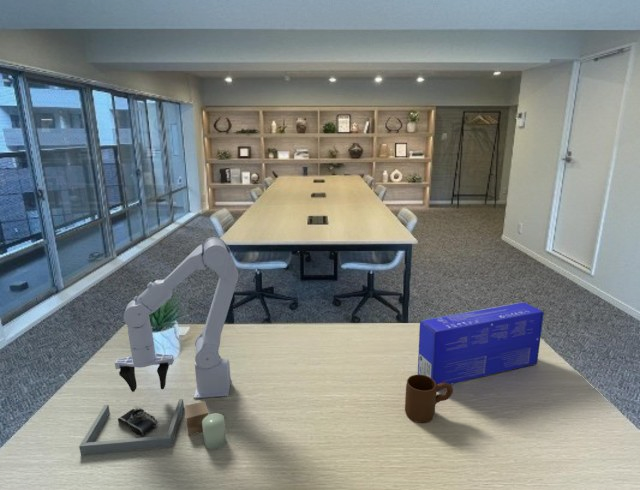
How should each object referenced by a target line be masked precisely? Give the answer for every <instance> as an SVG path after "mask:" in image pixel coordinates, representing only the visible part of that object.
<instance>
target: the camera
mask: <svg viewBox="0 0 640 490" xmlns="http://www.w3.org/2000/svg"><path fill="white" fill-rule="evenodd" d="M117 422H118V424H121V423H122V422H126V423H127V424H128V427H129V429H130V431H131V432H132V433H133V434H135V435H137V436H138V437H139V438H143V436H145V435H146V434H148V433H149V432H151V431H152V430H154V429H155V428H156V427H157V424H158V422H159V421H158V419H156V418H155V416H153V415H152V414H150V413H148V412H146V411H145V410H144V409H142V408H135V409H134V408H132V409H130V410H129V411H127V412H126V413H124V414H123V415H121V416H120V417H118V418H117Z"/></svg>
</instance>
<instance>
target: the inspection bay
mask: <svg viewBox="0 0 640 490" xmlns="http://www.w3.org/2000/svg"><path fill="white" fill-rule="evenodd" d="M184 409H185V404H184V398H179V400H178V401H177V404H176V408H175V411H174V413H173V417H172V418H171V422H170V425H169V427H168V431H167V434H166V435H158V436H157V435H156V436H145V437H135V438H134V437H133V438H125V439H113V440H101V441H95V439H96V438H97V436H98V434H99V432H100V430H101V429H102V427H103V426H104V424H105V422H106V420H107V419H108V417H109V415H110V413H111V412H110V407H109V404H105V405H103V407H102V408H101V410H100V412H99V414H98V415H97V417H95V420H94V421H93V422H92V424H91V427H90V428H89V429H88V431H87V433H86V435H85V436H84V438H83V439H82V441H81V443H80V444H79V446H78V448H79V453H80V456H89V455H100V454H109V453H121V452H132V451H143V450H144V451H145V450H154V449H155V450H156V449H165V448H172V446H173V443H174V440H175V437H176V433H177V431H178V426H179V424H180V420H181V418H182V414H183V413H184V412H183V411H184Z"/></svg>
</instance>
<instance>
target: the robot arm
mask: <svg viewBox="0 0 640 490" xmlns="http://www.w3.org/2000/svg"><path fill="white" fill-rule="evenodd" d="M232 254H233V253H232V251H231V249H230V247H229V245H227V243H226V242H225V241H224V240H223V239H222V238H221V237H220V238H219V237H217V236H214V237H209V238H207V239H206V240H205V241H204V242H203V244H202V243H201V244H200V245H198V246H197V247H196V248H195V249H193V250H192V251H191V253H189V255H187V256H186V257H185V259H183V260H182V261H181V262H180V263H179V264H178V266H176V267H175V268H174V269H173V270H172V271H171V272H169V273H170V274H168V275H167V276H166V277H165V278H164V279H156V280H155V281H154V282H152V281H150V282H149V283H148V284H147V286H146V287H147V288H146V289H144V291H143V292H142V293H140V294H139V295H135V296H134V297H133V299H132V300H131V301H130V302H128V303H127V305H126V308H125V311H124V314H123V322H124V323H125V325H126V327H127V335H128V341H129V346H130V352H131V356H127V357H123V358H117V359H116V361H115V362H114V366H115V370H119V372H118V374H119V376H120V377H121V378H122V379H123V380H124V381H125V382H126V383H127V385H128V387H129V389H130V390H131V393H135V391H136V390H137V388H138V386H137V379H136V373H135V369H136V368H146V367H150V366H154V365H155V366H156V365H158V367H157V370H156V372H157V375H158V378H159V384H160V385H159V386H160V390H165V387H166V384H167V383H166V381H167V376H168V375H167V374H168V371H169V368H170V366H172V365H173V363H174V361H175V360H174V354H163V353H156V347H155V343H154V337H153V336H154V335H153V328H152V324H151V320H150V315H151V314H153V313H155V312H156V311H157V310H158V309H160V308H161V307H162V306H163V305H164V304H165V303H166V302H167V301H168V300H170V299H171V297H172V296H173V294H174V293H173V290H174V288H175V287H176V286H178V285H179V284H180V283H182V282H183V281H184V280H185V279H186V278H187V277H189V276H190V275H191V274H192V273H194V272H195V271H206V270H207V267H208V268H209V269H211V270H212V271H214V272H215V273H216V274H217V276H218V277H219V278H218V281H217V284H216V287H215V291H214V294H213V297H212V298H213V299H212V301H211V305H210V308H209V311H208V315H207V318H206V322H205V323H204V324H205V325H204V327H203V328H202V331H201V333H200V335H199V336H198V337H196V339H195V341H194V346H195V356H194V357H195V358H194V370H195V371H194V372H195V382H196V388H195V392H194V394H193V398H194V399H201V398H202V399H203V398H213V397H214V398H215V397H227V396H229V393H230V388H231V384H232V377H231V367H230V364H231V363H230V360H229V359H226V358H222V357H221V355H220V354H219V349H220V345H221V344H220V343H221V336H222V332H223V329H224V325H225V323H226V319H227V316H228V312H229V309H230V306H231V302H232V300H233V296H234V293H235V290H236V286H237V283H238V280H239V271H238V268H237V265H236V263H235V259H234V257H233V255H232Z"/></svg>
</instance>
